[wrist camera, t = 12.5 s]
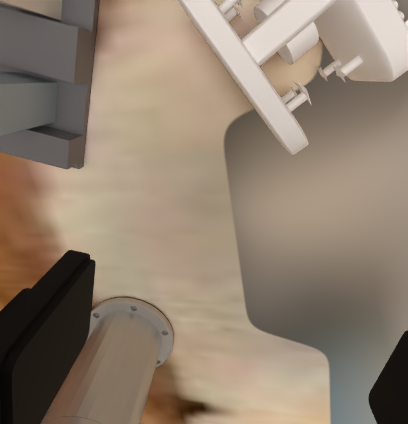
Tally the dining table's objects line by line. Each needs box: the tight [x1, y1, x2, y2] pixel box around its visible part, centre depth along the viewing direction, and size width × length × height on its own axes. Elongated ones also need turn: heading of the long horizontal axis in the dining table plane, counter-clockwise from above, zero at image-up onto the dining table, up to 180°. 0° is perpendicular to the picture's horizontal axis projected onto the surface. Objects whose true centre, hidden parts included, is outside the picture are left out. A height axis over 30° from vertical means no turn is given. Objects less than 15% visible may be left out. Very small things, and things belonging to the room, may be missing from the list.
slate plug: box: [0, 72, 58, 136], centre depth 29 cm, size 4×4×10 cm
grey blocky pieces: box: [0, 0, 99, 169], centre depth 31 cm, size 23×10×4 cm, turn 166°
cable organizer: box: [178, 0, 408, 155], centre depth 25 cm, size 15×11×12 cm
